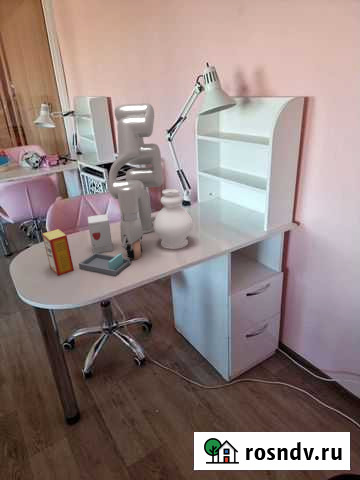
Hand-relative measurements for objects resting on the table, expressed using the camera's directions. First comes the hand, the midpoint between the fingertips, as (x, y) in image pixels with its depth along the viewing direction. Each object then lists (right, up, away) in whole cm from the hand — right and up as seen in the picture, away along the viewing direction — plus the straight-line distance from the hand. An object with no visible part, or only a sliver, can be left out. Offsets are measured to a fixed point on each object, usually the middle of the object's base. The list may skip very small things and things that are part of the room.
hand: (134, 254), depth 145 cm
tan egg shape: (0, -1, 0) cm, 1 cm away
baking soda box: (-29, -6, -6) cm, 31 cm away
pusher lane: (-11, -5, -6) cm, 14 cm away
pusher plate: (-6, -6, -9) cm, 12 cm away
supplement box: (-16, +2, +10) cm, 19 cm away
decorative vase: (+17, +5, +11) cm, 21 cm away
